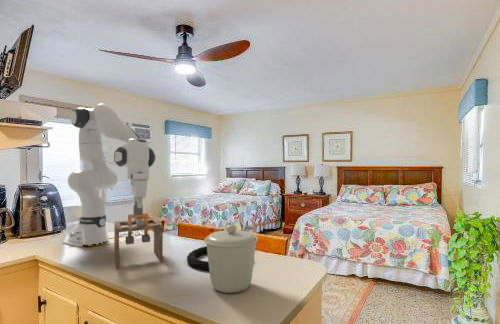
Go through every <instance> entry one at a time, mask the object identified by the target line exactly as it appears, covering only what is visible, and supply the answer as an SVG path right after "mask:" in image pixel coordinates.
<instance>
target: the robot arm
mask: <svg viewBox="0 0 500 324" xmlns="http://www.w3.org/2000/svg"><path fill="white" fill-rule="evenodd" d="M70 121H71V124H72V126H73V127H74V128H77V129H79V130H78V131H79V133H78V149H79V159H80V160H81V161H82V162H83V163H84V164H86V165H87V166H88V167H89V169H81V170H76V171H72V172H71V173H70V174H69V175H68V178H67V185H68V187H69V188H70V189H71V190H72V191H74V192H75V193H76V194H77V196H78V197H79V199H80V203H81V217H79V218H77V221H79V222H78V224H77V225H76V226H74V227H72V229H70V231H69V232H68V237H67V239H64V240H63V241H62V244H64V245H70V246H73V247H84V246H83V245H88V246H93V245H92V244H96V245H100V244H99V243H101V244H104V243H103V242H105V243H107V242H109V236H108V232H107V224H106V222H107V215H106V200H105V199H104V198H102V197H100V196H99V194H98V193H97V190H98V191H100V190H101V191H102V190H106V189H110V188H114V187H115V186H116V185H117V183H118V175H117V173H116V172H115V171H114V170H112V169H111V168H110V166H108V164H107V162H106V160H105V156H104V150H103V143H102V135H103V136H104V137H107V138H110V139H113V140H118V141H121V142H124V143H126V144H124V145H122V146H118V147H117V149H116V150H115V151H114V152H113V161H114V162H115V165H117V166H118V167H121V168H127V173H126V174H127V180H130V183H131V195H132V196H133V199H134V205H137V208H142V204H143V201H144V199H145V198H146V197H147V189H148V180H149V179H150V167H151V166H153V165H154V163H155V162H156V155H155V154H156V153H155V152H154V150H153V149H152V148H151V147H149V142H148V141H147V140H146V139H143V138H141V137H140V136H139V135H138V134H137V133H136V132H135V130H133V129H132V128H131V127H129V126H128V125H127V124H126V123H125V122H124V121H123V120H122V119H121V118H120V117H119V115H118V113H116V111H114V109H113V108H112V107H111V106H110V105H108V104H106V103H98V104H96V105H95V106H94V107H93V108H90V107H88V108H86V107H75V108H74V109H73V110H72V111H71V114H70ZM106 241H107V242H106Z"/></svg>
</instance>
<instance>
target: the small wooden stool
mask: <svg viewBox="0 0 500 324" xmlns="http://www.w3.org/2000/svg"><path fill="white" fill-rule="evenodd" d="M113 225H114V233H113V234H114V239H113V241H114V243H113V244H114V248H113V249H114V252H113V255H114V256H113V257H114V264H115V269H116V270H119V268H120V233H124V232H127V233H128V231H132V232H134V231H144V230H147V229H148V230H153V253H154V255H155V257H156V258H157V260H158V262H159V263H163V260H164V259H163V249H164V248H163V241H164V240H163V238H164V236H163V234H164V229H163V227H164V225H163V223H162V222H161V221H160V220H158V219H157V218H155V217H154V218H148V225H144V218H143V219H141V217H140V218H132V226H128V220H120V221H114V224H113Z"/></svg>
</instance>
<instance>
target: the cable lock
mask: <svg viewBox="0 0 500 324" xmlns="http://www.w3.org/2000/svg"><path fill="white" fill-rule="evenodd" d="M204 255H208V253H207V245H205V246H202V247H198V248H196V249H193V250H192V251H190V252H189V253H188V254H187V257H186V262H187V263H186V264H187V265H189V266H190V267H192V268H193V269H195V270H198V271H200V270H201V271H206V272H210V271H209V263H208V261H205V260H201V259H197V258H199V257H201V256H204Z"/></svg>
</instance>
